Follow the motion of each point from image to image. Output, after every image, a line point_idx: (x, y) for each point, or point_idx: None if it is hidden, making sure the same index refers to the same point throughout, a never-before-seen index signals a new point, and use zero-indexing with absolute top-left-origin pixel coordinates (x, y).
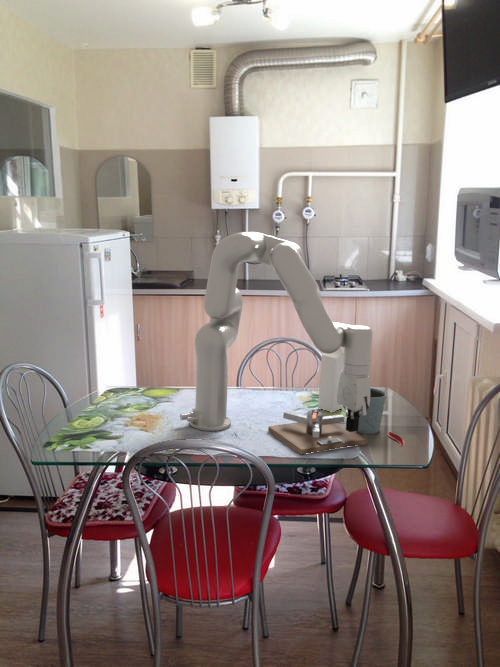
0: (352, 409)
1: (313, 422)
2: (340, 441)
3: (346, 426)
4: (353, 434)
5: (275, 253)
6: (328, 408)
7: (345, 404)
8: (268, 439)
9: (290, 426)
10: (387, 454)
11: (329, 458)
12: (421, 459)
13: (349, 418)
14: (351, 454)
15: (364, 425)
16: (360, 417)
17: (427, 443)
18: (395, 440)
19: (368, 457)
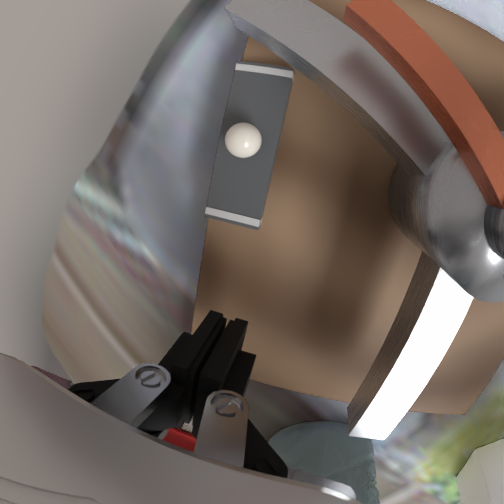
0: (16, 369)
1: (436, 124)
2: (207, 201)
3: (236, 332)
4: (268, 365)
5: None
6: (490, 452)
7: (124, 462)
8: (494, 19)
9: None
10: (97, 316)
11: (168, 65)
12: (56, 350)
13: (182, 372)
14: (145, 193)
15: (287, 450)
16: None
17: None
18: (179, 430)
19: (98, 234)
